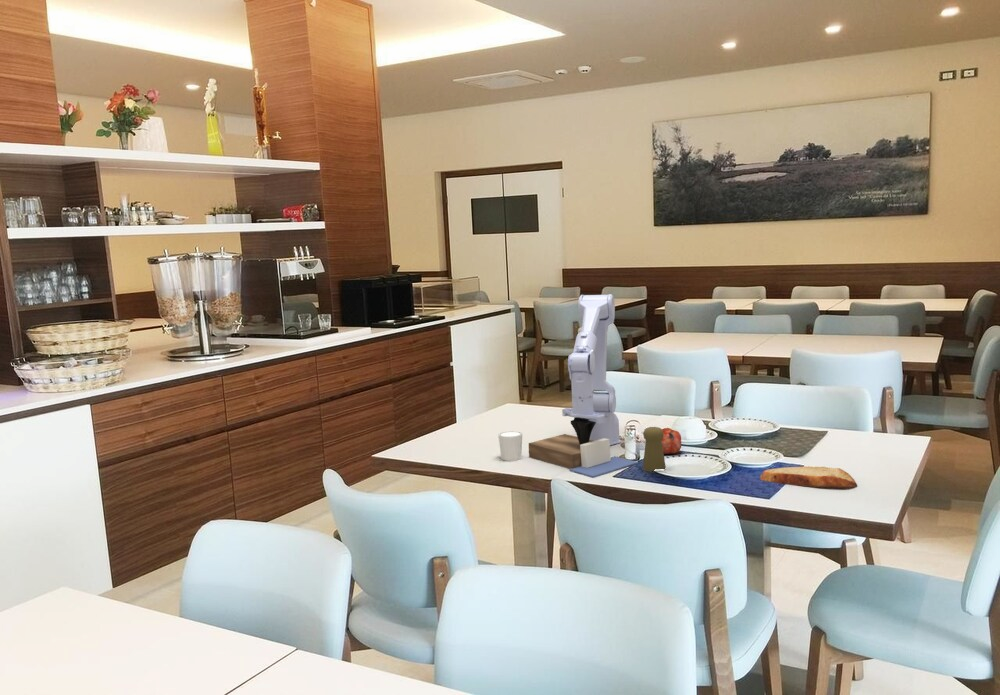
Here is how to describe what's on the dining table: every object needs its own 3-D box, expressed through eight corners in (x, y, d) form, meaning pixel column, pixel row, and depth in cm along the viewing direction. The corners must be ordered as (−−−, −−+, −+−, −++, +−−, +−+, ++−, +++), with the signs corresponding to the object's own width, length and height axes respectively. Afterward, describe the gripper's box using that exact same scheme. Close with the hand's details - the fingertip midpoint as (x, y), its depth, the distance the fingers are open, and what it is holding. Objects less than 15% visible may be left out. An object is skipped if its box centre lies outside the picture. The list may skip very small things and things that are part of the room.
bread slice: (753, 478, 202) (753, 463, 201) (812, 468, 208) (812, 454, 207) (802, 499, 185) (802, 483, 185) (865, 487, 191) (865, 472, 190)
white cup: (526, 455, 231) (525, 431, 230) (520, 461, 225) (519, 437, 224) (503, 454, 233) (501, 430, 232) (496, 461, 227) (495, 436, 226)
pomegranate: (652, 459, 229) (655, 445, 221) (653, 435, 233) (656, 421, 224) (679, 461, 228) (683, 448, 220) (680, 437, 232) (683, 423, 223)
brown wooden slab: (565, 447, 238) (564, 433, 237) (610, 458, 224) (609, 444, 223) (529, 457, 229) (528, 443, 229) (573, 469, 215) (572, 454, 215)
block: (603, 438, 221) (609, 439, 219) (605, 459, 221) (610, 460, 220) (580, 444, 215) (585, 445, 214) (581, 466, 216) (587, 467, 214)
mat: (614, 457, 224) (614, 456, 224) (638, 463, 218) (638, 462, 218) (569, 470, 214) (569, 469, 214) (593, 477, 207) (593, 476, 207)
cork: (648, 473, 209) (647, 431, 207) (638, 466, 215) (637, 426, 213) (670, 470, 211) (669, 428, 209) (659, 464, 216) (658, 423, 215)
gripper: (553, 395, 222) (555, 443, 224) (590, 402, 211) (592, 452, 213) (572, 391, 227) (573, 438, 228) (609, 397, 215) (611, 447, 217)
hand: (584, 445), depth 221 cm, fingers closed
